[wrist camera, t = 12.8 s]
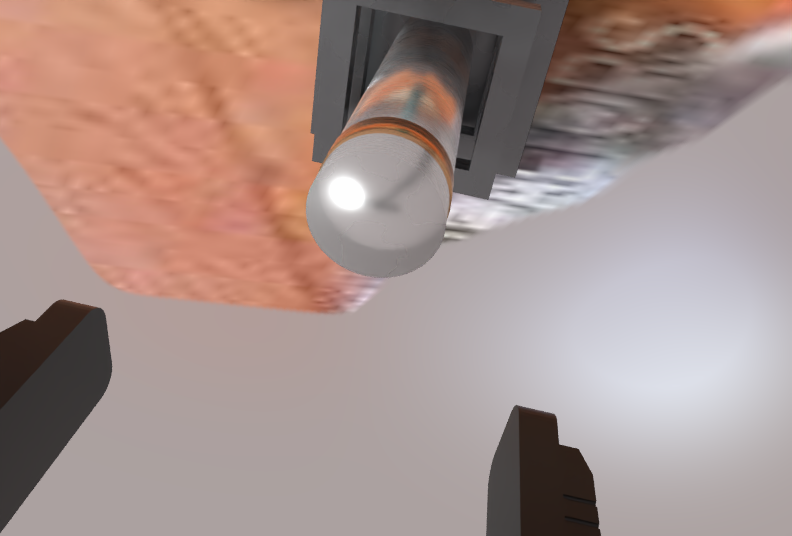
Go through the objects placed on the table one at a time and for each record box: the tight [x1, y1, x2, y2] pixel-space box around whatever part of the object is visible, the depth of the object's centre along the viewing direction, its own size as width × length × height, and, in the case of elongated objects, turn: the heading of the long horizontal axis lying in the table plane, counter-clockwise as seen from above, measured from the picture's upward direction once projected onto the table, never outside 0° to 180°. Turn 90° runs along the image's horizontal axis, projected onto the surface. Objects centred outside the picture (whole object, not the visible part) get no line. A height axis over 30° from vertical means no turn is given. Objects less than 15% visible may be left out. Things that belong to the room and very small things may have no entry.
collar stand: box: [311, 0, 569, 200], centre depth 30 cm, size 12×12×8 cm
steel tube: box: [306, 17, 473, 278], centre depth 25 cm, size 4×4×18 cm
